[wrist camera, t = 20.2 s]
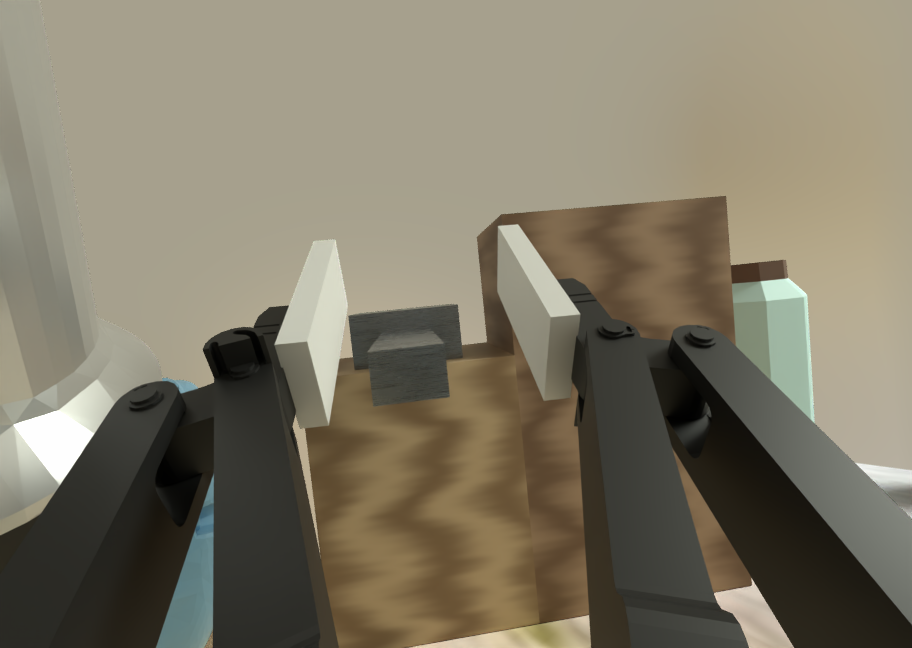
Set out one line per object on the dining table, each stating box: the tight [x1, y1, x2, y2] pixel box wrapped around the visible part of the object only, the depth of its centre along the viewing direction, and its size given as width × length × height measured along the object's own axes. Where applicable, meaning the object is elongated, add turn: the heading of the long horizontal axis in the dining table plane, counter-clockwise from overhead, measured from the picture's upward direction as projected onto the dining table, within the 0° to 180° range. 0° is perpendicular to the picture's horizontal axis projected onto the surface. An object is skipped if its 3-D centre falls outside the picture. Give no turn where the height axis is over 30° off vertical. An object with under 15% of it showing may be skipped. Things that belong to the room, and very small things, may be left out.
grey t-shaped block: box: [349, 304, 463, 407], centre depth 31 cm, size 8×21×4 cm, turn 7°
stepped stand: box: [305, 196, 752, 648], centre depth 39 cm, size 32×11×30 cm, turn 97°
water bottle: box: [731, 260, 814, 422], centre depth 49 cm, size 10×10×25 cm
